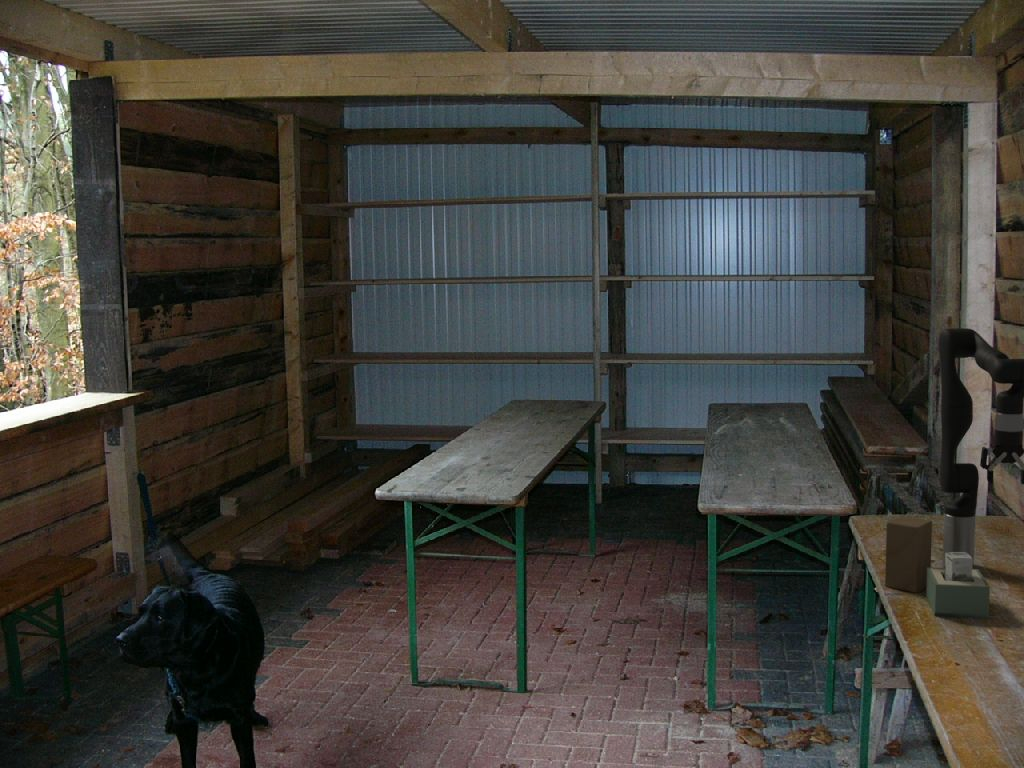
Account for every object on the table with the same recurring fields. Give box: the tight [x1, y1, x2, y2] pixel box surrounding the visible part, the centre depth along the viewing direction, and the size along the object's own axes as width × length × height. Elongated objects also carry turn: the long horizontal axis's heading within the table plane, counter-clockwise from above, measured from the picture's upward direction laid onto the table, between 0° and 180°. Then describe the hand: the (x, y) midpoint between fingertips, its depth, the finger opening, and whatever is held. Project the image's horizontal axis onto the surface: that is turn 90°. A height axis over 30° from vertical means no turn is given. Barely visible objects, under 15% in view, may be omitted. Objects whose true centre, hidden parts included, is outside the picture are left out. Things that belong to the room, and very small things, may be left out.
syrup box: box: [944, 552, 973, 582], centre depth 317 cm, size 6×6×14 cm
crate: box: [925, 566, 991, 619], centre depth 318 cm, size 16×14×9 cm
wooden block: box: [884, 515, 933, 593], centre depth 336 cm, size 10×10×20 cm
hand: (1006, 483), depth 324 cm, fingers open, 8 cm apart
